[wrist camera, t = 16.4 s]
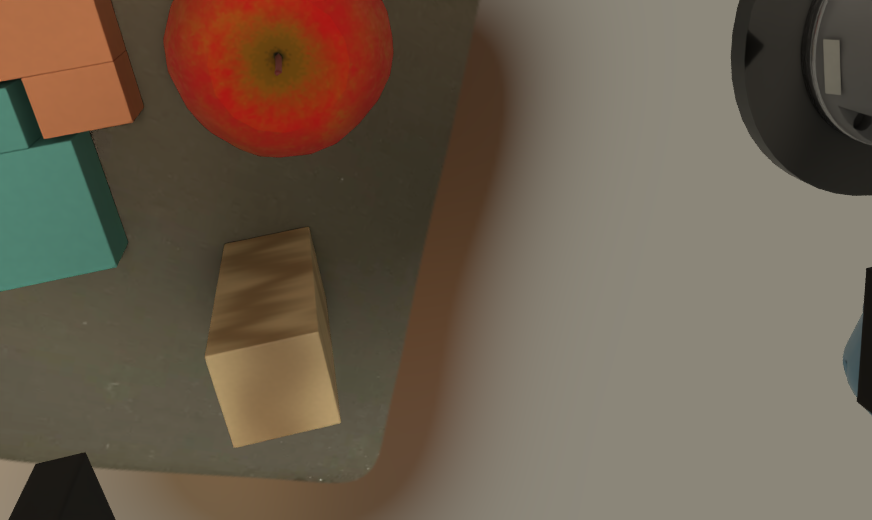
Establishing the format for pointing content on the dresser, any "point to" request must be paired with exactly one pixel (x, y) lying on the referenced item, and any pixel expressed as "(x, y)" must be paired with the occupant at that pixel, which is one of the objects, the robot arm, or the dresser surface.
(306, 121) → the apple
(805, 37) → the robot arm
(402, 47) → the dresser surface
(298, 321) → the pedestal
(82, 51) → the terracotta pad
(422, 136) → the dresser surface
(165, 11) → the dresser surface
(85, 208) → the teal tabbed block
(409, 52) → the dresser surface
